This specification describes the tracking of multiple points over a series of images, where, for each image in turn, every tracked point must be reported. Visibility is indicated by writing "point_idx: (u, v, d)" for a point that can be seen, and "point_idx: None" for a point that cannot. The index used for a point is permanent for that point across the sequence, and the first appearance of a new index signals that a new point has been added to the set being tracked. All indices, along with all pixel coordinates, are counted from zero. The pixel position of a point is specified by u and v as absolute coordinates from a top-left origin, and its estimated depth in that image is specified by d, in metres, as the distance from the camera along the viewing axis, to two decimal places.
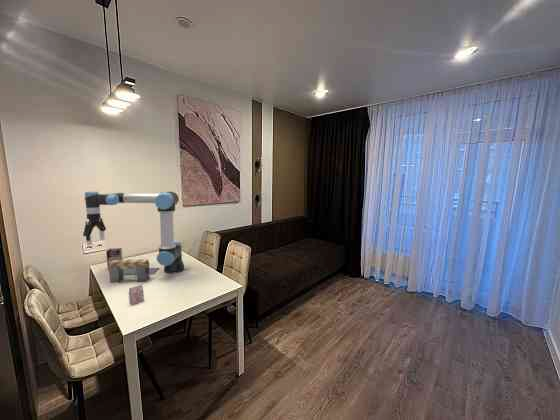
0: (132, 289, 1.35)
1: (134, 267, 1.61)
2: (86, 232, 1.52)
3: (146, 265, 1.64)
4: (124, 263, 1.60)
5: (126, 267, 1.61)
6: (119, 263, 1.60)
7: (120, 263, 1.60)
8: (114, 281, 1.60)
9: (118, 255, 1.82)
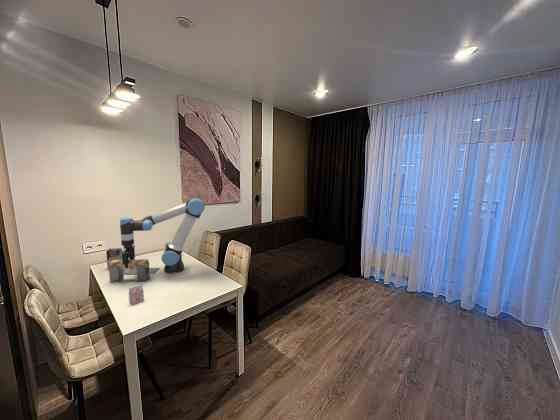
0: (132, 289, 1.35)
1: (134, 267, 1.61)
2: (125, 261, 1.56)
3: (146, 265, 1.64)
4: None
5: None
6: (119, 263, 1.60)
7: (120, 263, 1.60)
8: (114, 281, 1.60)
9: (118, 255, 1.82)
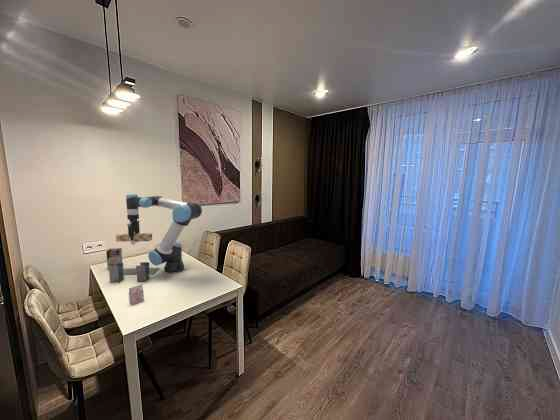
0: (132, 289, 1.35)
1: (139, 240, 1.74)
2: (130, 233, 1.70)
3: (150, 238, 1.77)
4: None
5: None
6: (125, 236, 1.73)
7: (126, 236, 1.73)
8: (114, 281, 1.60)
9: (118, 255, 1.82)
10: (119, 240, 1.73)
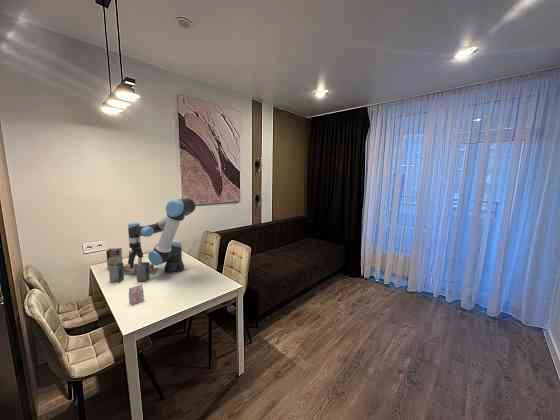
0: (132, 289, 1.35)
1: None
2: (130, 261, 1.70)
3: (152, 269, 1.80)
4: None
5: None
6: (127, 267, 1.76)
7: (128, 267, 1.76)
8: (114, 281, 1.60)
9: (118, 255, 1.82)
10: None
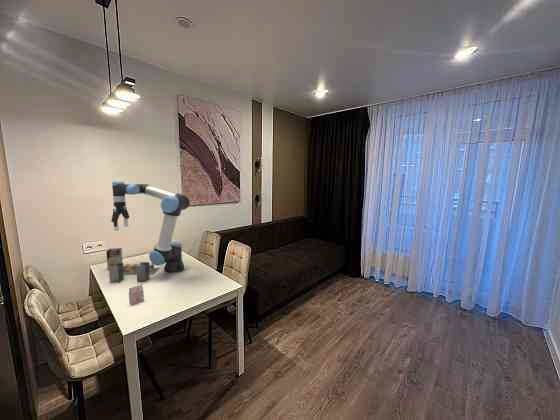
0: (132, 289, 1.35)
1: None
2: (114, 218, 1.65)
3: (152, 269, 1.80)
4: (132, 267, 1.77)
5: (133, 271, 1.77)
6: (127, 267, 1.76)
7: (128, 267, 1.76)
8: (114, 281, 1.60)
9: (118, 255, 1.82)
10: None
